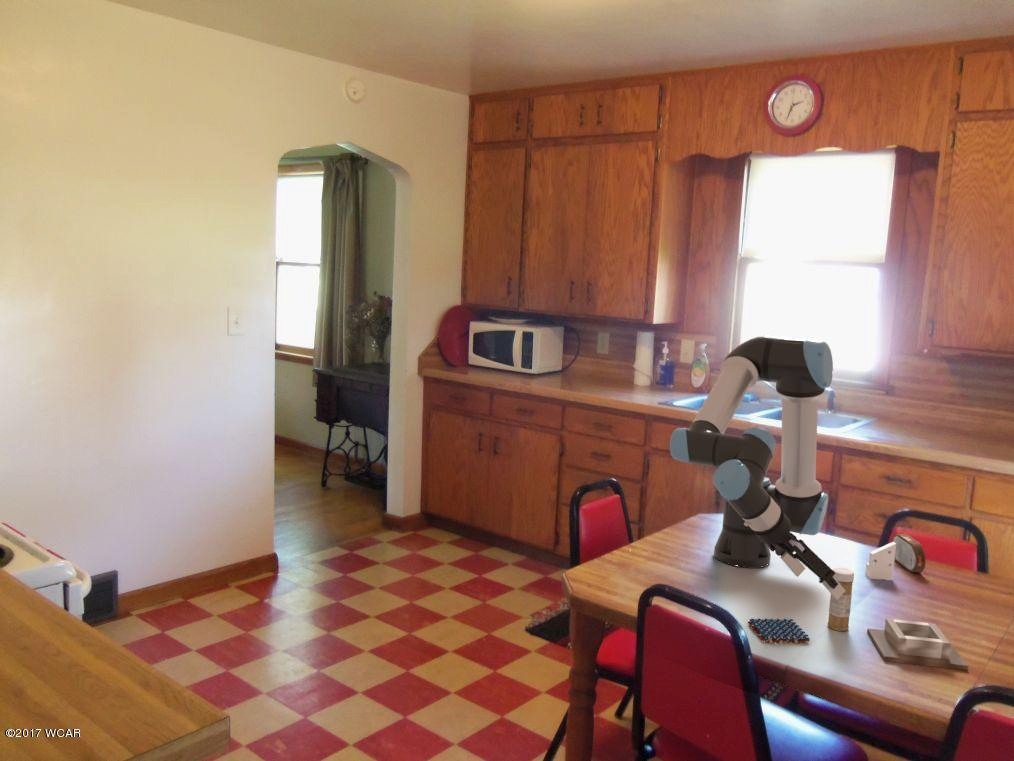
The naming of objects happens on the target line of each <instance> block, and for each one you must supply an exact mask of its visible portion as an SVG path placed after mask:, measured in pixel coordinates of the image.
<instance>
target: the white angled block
mask: <svg viewBox="0 0 1014 761" xmlns="http://www.w3.org/2000/svg"><path fill="white" fill-rule="evenodd" d="M895 550H896V543H895V542H893V541H892V542H890V543H887V544H885V545H883V546H881V547H878V548H875V549H873V550H871V551H870V552H869V558H868V562H866V563H865V572H864V573H865V575H866V576H867V577H868V579H871V580H881V579H886V580H885V581H893V577H894V569H895V568H894V567H895V561H896V560H895Z"/></svg>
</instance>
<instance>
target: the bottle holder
mask: <svg viewBox="0 0 1014 761" xmlns="http://www.w3.org/2000/svg"><path fill="white" fill-rule="evenodd" d="M866 629H867V631H866V633H867V635H868V637H869V638H870V639H871V642H872V643H873V645H874V647H875V648H876V650H877V651H878V653H879V655H880V657H881V658H882V661H884V662H891V663H900V664H908V665H918V666H926V667H935V668H943V669H952V670H962V671H968V669H969V665H968V664H967V663H966V661H965V660H964V659H963V657H962V656H961V655H960V653H958V651H957V650H956V649H955V648H954V646H953V644H951V643H952V642H950V641H949V640H948V638H947V637H946V635H945V634H944V633H943V632H942V631H941V629H940V628H939V627H938V626H937V624H936V623H933V622H923V621H922V622H921V621H915V620H914V621H913V620H903V619H894V618H885V623H884V629H879V628H878V629H877V628H866Z"/></svg>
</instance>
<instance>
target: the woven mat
mask: <svg viewBox="0 0 1014 761" xmlns="http://www.w3.org/2000/svg"><path fill="white" fill-rule="evenodd" d="M747 624H748V625H749V627H750V628H751V627H752V628H753V629H752V628H751V629H752V631H754V632H755V631H756V633H757V634H758V635H757V634H756V633H755V634H756V635H757V637H758V638H759V637H760V638H761V639H760V640H761V641H762V640H763V641H765V642H766V643H769V642H770V643H769V644H773V643H774V642H775V643H776V644H775V643H774V644H775V645H778V643H779V644H780V643H782V644H788V643H789V644H800V645H802V644H803V643H804V644H809V642H810V641H811V639H810V637H809V635H808V634H807V633H806V631H804V630H803V628H801V627H800V625H798V624H797V622H795V621H794V619H792V618H790V619H789V618H788V619H786V618H783V619H780V618H759V617H758V618H750V619H749V621H747ZM763 641H762V642H763ZM788 641H789V642H788ZM777 642H778V643H777ZM802 642H803V643H802Z"/></svg>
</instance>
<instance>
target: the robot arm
mask: <svg viewBox="0 0 1014 761" xmlns="http://www.w3.org/2000/svg"><path fill="white" fill-rule="evenodd" d="M719 371H720V374H719V377H718V378H717V380H716V381H715V383H714V385H713V387H712V388H711V390H710V392H709V394H708V395H707V397H706V399H705V400H704V402H703V404H702V405H701V407H700V409H699V411H698V412H697V414H696V416H695V418H694V419H693V421H692V423H691V424H690V426H689V427H688V428H687V427H678V428H675V429H674V430H673V432H672V433H671V437H670V441H669V450H670V453H669V454H670V455H671V458H673V460H676V461H680V462H684V463H687V464H694V465H695V464H696V465H701V466H702V465H703V466H709V467H716V468H717V469H715V471H714V473H713V476H712V483H713V485H714V487H715V488H716V489H717V490H718V492H719V495H721V497H722V498H723V499H724V500H723V501H724V502H723V518H722V529H721V531H720V534H719V536H718V538H717V541H716V543H715V545H714V548H713V557H714V556H715V557H716V558H717V559H719V560H720V561H719V560H718V561H719V562H721V561H723V562H725V563H724V564H726V563H729V564H732V565H731V566H733V565H738V566H744V567H743V568H747V567H758V568H762V567H761V566H764V567H766V566H765V565H767V564H769V563H771V552H772V553H775V554H776V555H777V556H778V557H780V559H781V561H782V562H783V563H784V564H785V565H786V566H787V568H789V570H790V571H791V572H792V574H794V576H796V577H797V578H799V576H800V575H801V574H802V573H803V572H804V571H805V570H806V568H807V569H808V570H809V571H811V572H812V573H813V574H814V575H815V576H817V577H818V582H819V584H822V586H824V588H825V589H826V590H827V591H828V592H829V594H830V595H831V594H832V596H833V597H834V598H835V599H837V600H838V599H839V598H840V596H841V595H842V594H843V593H844V592H845V591H846V590H845V589H844V588H843V587H842V586H841V584H840V583H839V582H838V581H837V580H836V578H835V577H834V574H835V572H834V571H833V568H831V567H830V566H829V565H828V564H827V563H826V562H824V561H823V559H821V558H820V557H819V555H817V554H816V553H815V552H814V551H813V550H812V549H811V548H810V547H809V546H808V545H807V544H806V543H805V541H804V540H802V539H801V538H800V539H798V538H797V536H796V535H794V534H793V533H795V534H799V535H806V536H807V535H808V536H816V535H817V534H818V533H819V532H820V530H821V528H822V526H823V523H824V520H825V516H826V514H827V509H828V505H829V504H828V503H829V495H828V494H827V493H825V492H824V491H823V492H822V484H821V483H820V482H819V481H818V480H817V479H816V477H817V476H816V472H817V447H818V446H817V442H818V438H817V437H818V413H819V412H818V404H819V402H818V401H819V398H820V397H821V396H823V394H824V393H825V389H826V388H829V387H830V386H831V384H832V381H833V371H834V363H833V354H832V350H831V348H830V346H829V344H828V343H827V342H826V341H824V340H820V339H819V340H818V339H813V338H808V337H807V338H802V337H789V336H787V337H786V336H773V335H762V336H761V335H760V336H757V337H753V338H750V339H748V340H746V341H744V342H742V343H740V344H739V345H738V346H736V347H735V348H734V349H733V350H731V352H729V353H728V354H727V355H726V356H725V358H724V360H723V361H722V363H721V366H720V370H719ZM757 382H767V383H775V391H776V393H777V394H778V395H779V396H780V397H781V454H780V456H781V462H780V463H781V468H780V473H781V475H780V477H779V478H778V479H777V480H776V481H775V484H771V483H772V482H771V479H770V478H769V477H767V476H766V475H767V472H768V470H769V467H770V465H771V462H772V461H773V459H774V452H775V449H776V446H777V444H776V440H775V437H774V435H772V434H771V432H770V431H768V430H766V429H765V428H762V427H757V426H754V427H750V428H749V427H748V428H746V429H745V430H744V432H743V433H742V434H741V435H736V434H735V435H734V434H727V433H725V432H726V431H727V428H728V427H729V424H730V423H731V421H732V419H733V418H734V415H735V414H736V412H737V410H738V408H739V406H741V405H740V404H741V403H742V401H743V399H744V397H745V395H746V394H747V392H748V390H749V389H750V388H753V387H754V386H756V383H757ZM774 551H775V552H774ZM715 557H714V558H715ZM716 558H715V559H716ZM717 559H716V560H717ZM723 562H722V563H723ZM729 564H728V565H729ZM769 565H770V564H769ZM738 566H737V567H738ZM767 566H768V565H767Z"/></svg>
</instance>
